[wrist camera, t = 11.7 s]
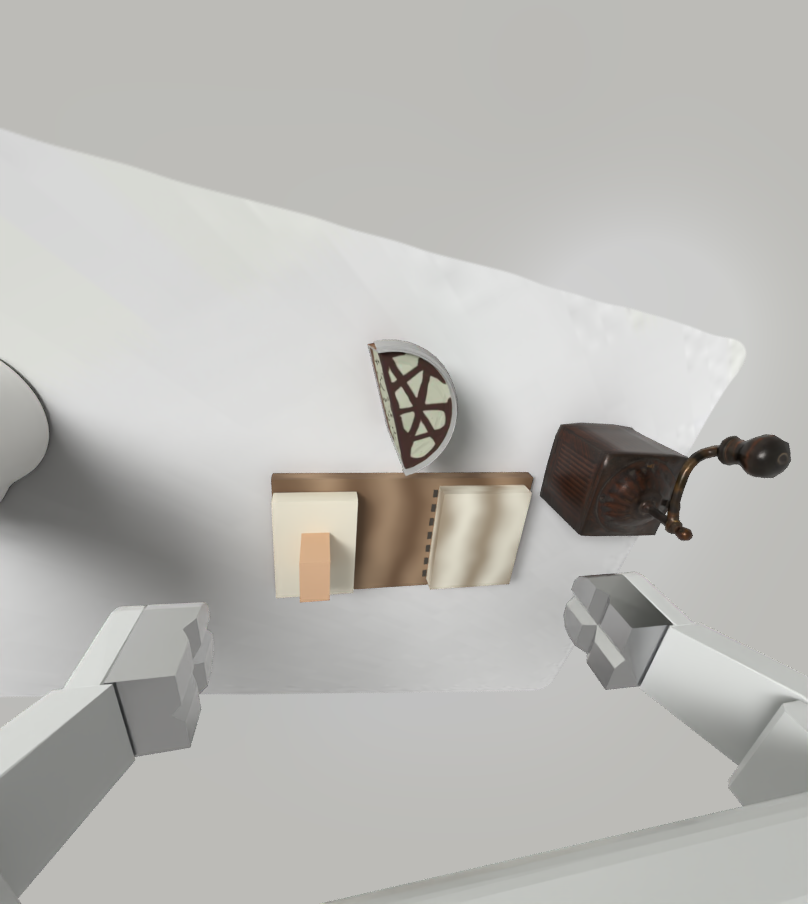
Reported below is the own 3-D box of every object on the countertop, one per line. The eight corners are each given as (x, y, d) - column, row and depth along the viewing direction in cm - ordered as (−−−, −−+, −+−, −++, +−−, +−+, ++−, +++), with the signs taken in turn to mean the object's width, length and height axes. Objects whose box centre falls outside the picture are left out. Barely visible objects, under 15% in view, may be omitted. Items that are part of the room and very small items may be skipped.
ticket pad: (278, 585, 49) (275, 606, 46) (272, 473, 43) (269, 488, 40) (503, 571, 56) (514, 589, 53) (527, 472, 50) (541, 485, 47)
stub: (277, 586, 47) (271, 633, 41) (273, 492, 42) (264, 530, 36) (352, 581, 49) (356, 625, 43) (356, 491, 44) (362, 527, 38)
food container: (441, 426, 45) (471, 463, 36) (389, 439, 44) (406, 481, 35) (423, 315, 39) (453, 327, 30) (363, 329, 39) (376, 345, 30)
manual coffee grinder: (608, 496, 54) (730, 590, 38) (537, 496, 52) (634, 596, 36) (649, 387, 48) (814, 443, 32) (569, 381, 46) (705, 438, 29)
